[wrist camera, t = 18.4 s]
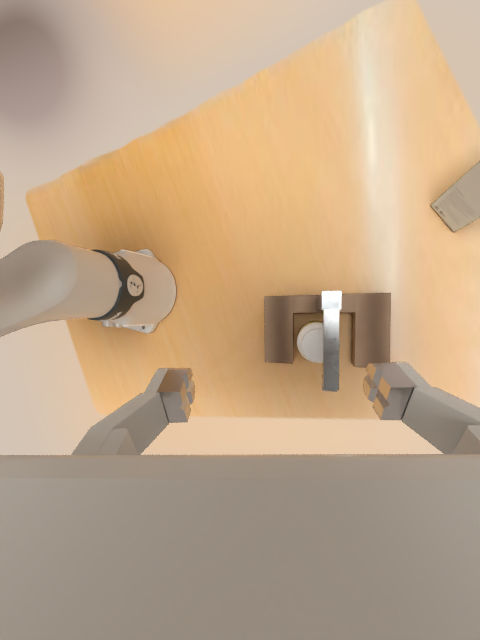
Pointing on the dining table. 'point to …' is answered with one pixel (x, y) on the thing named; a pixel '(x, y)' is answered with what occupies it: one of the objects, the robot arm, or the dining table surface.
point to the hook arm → (330, 338)
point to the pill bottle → (311, 341)
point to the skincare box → (461, 200)
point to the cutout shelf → (279, 312)
